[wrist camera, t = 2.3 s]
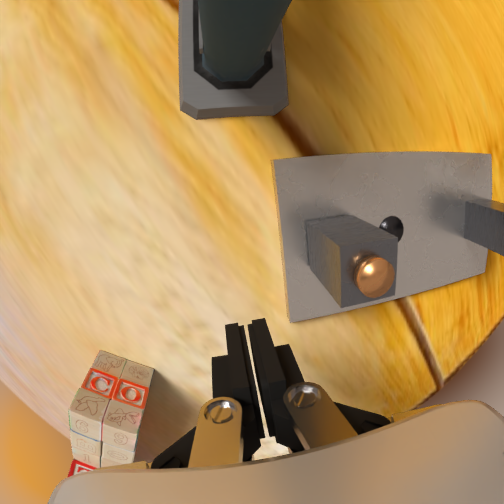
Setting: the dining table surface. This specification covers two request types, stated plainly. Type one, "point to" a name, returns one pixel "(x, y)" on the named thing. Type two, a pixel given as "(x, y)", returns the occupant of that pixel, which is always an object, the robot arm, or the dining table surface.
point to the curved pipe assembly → (232, 58)
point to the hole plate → (381, 216)
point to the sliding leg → (353, 259)
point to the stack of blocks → (108, 413)
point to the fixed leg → (485, 224)
